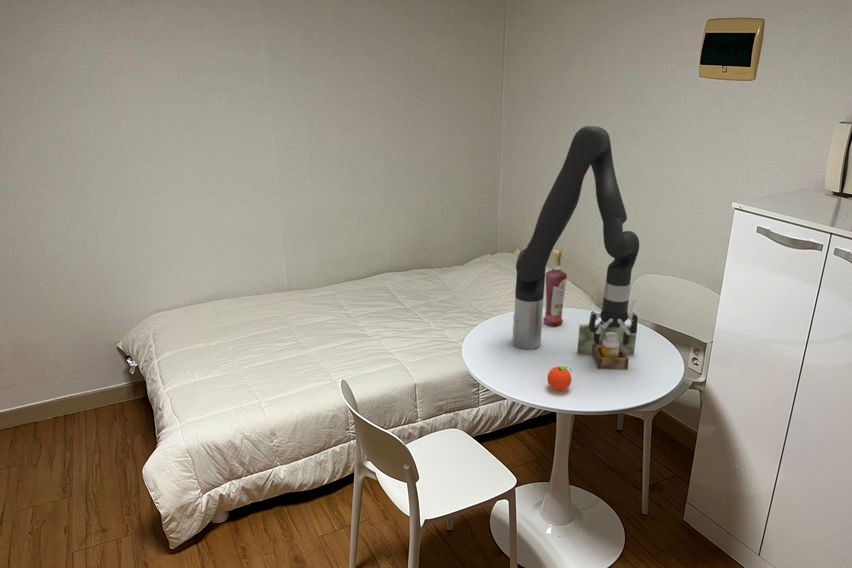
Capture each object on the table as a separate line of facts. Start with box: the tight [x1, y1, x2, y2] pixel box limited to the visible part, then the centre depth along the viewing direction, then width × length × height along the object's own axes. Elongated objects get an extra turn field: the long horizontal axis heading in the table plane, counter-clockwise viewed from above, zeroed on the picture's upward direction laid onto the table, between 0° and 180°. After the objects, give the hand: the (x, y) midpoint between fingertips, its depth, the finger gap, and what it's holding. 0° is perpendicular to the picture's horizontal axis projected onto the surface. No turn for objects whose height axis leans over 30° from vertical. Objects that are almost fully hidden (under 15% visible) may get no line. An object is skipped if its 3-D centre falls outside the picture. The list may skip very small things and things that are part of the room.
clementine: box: [547, 366, 573, 391], centre depth 181 cm, size 8×7×7 cm
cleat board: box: [576, 323, 638, 370], centre depth 196 cm, size 18×12×10 cm, turn 87°
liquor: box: [543, 248, 568, 327], centre depth 220 cm, size 7×7×28 cm
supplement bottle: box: [601, 332, 620, 358], centre depth 195 cm, size 5×5×10 cm
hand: (610, 343), depth 194 cm, fingers open, 8 cm apart
